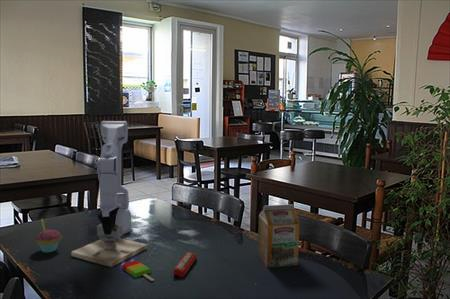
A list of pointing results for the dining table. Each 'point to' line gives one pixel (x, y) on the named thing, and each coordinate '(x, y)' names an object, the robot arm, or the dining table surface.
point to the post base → (109, 251)
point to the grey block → (114, 235)
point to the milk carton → (278, 236)
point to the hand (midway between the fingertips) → (109, 230)
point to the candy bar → (184, 264)
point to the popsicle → (137, 269)
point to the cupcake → (48, 239)
